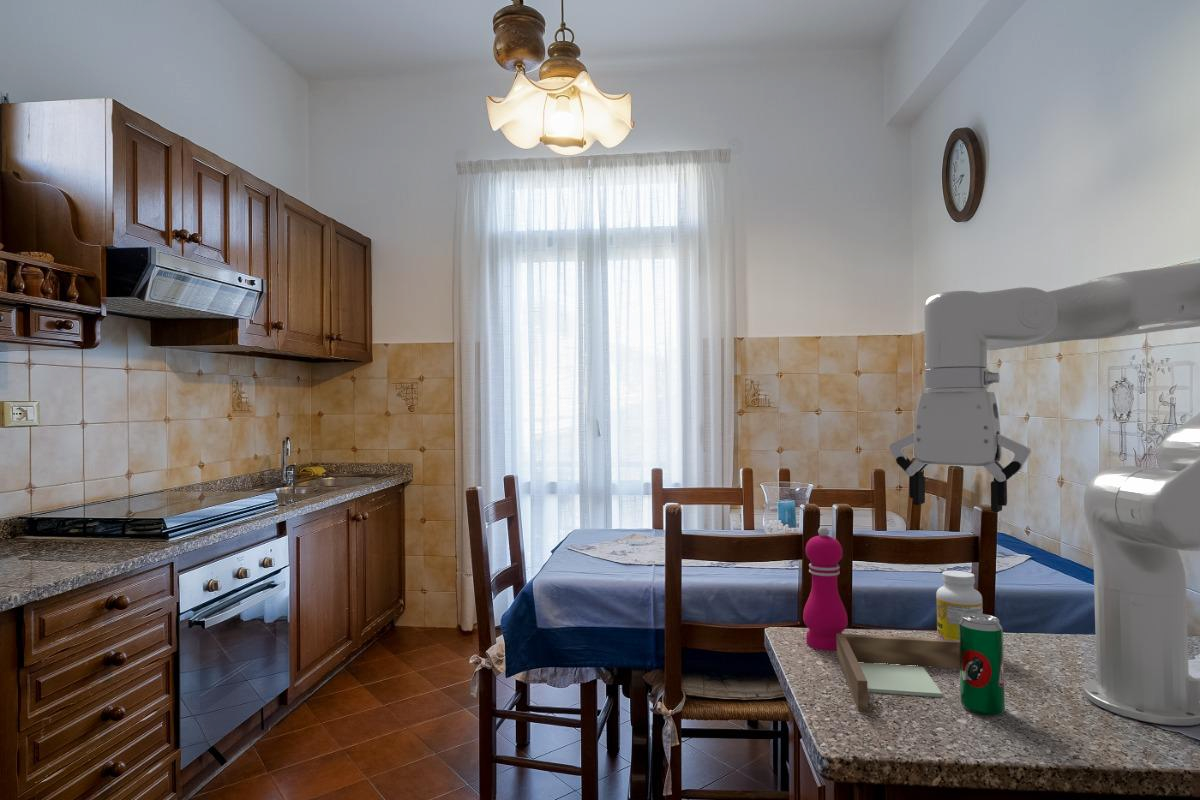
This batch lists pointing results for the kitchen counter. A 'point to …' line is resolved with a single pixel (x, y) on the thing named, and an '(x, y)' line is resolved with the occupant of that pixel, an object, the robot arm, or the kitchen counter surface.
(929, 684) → the pad
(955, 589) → the supplement bottle
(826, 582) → the pepper mill
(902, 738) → the kitchen counter surface
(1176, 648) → the robot arm
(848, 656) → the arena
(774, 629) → the kitchen counter surface
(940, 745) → the kitchen counter surface
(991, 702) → the soda can
